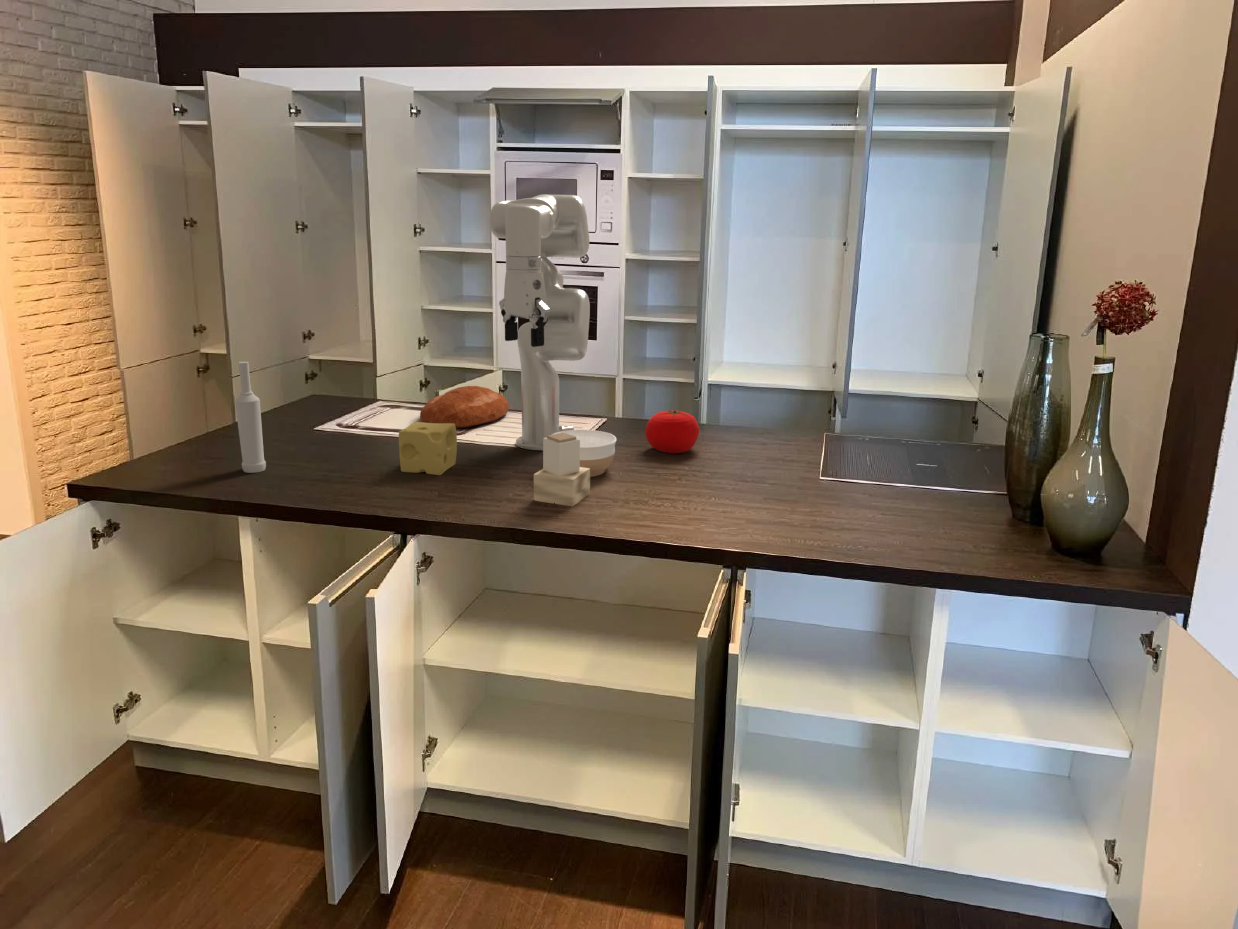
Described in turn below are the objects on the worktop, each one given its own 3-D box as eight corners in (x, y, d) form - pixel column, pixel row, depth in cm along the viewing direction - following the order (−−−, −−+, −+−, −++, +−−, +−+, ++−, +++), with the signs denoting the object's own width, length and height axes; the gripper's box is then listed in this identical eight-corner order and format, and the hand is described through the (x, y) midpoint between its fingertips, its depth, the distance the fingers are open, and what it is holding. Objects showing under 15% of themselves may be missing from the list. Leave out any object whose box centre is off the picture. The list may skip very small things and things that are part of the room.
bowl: (584, 457, 223) (584, 425, 221) (630, 471, 213) (631, 438, 210) (534, 469, 213) (533, 436, 210) (579, 485, 202) (580, 451, 199)
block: (552, 489, 199) (552, 463, 197) (589, 494, 196) (590, 468, 194) (533, 501, 191) (533, 474, 189) (572, 507, 188) (572, 479, 186)
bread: (403, 427, 248) (401, 396, 246) (454, 403, 277) (453, 375, 275) (478, 435, 242) (477, 402, 240) (523, 409, 272) (522, 380, 269)
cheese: (441, 476, 206) (439, 433, 203) (397, 472, 208) (395, 430, 205) (458, 463, 216) (456, 422, 213) (416, 460, 218) (414, 419, 215)
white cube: (563, 465, 196) (563, 431, 194) (579, 471, 192) (580, 436, 190) (543, 469, 192) (543, 435, 190) (559, 476, 188) (559, 441, 186)
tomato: (669, 460, 221) (671, 419, 218) (634, 449, 231) (635, 409, 228) (709, 451, 231) (711, 411, 227) (674, 440, 240) (675, 402, 237)
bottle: (271, 468, 209) (261, 361, 202) (254, 474, 204) (242, 365, 197) (254, 465, 211) (244, 359, 204) (237, 471, 207) (225, 362, 199)
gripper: (561, 266, 192) (561, 346, 197) (514, 261, 204) (515, 336, 209) (533, 268, 187) (534, 350, 192) (486, 262, 199) (488, 339, 204)
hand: (524, 343), depth 200 cm, fingers open, 9 cm apart
